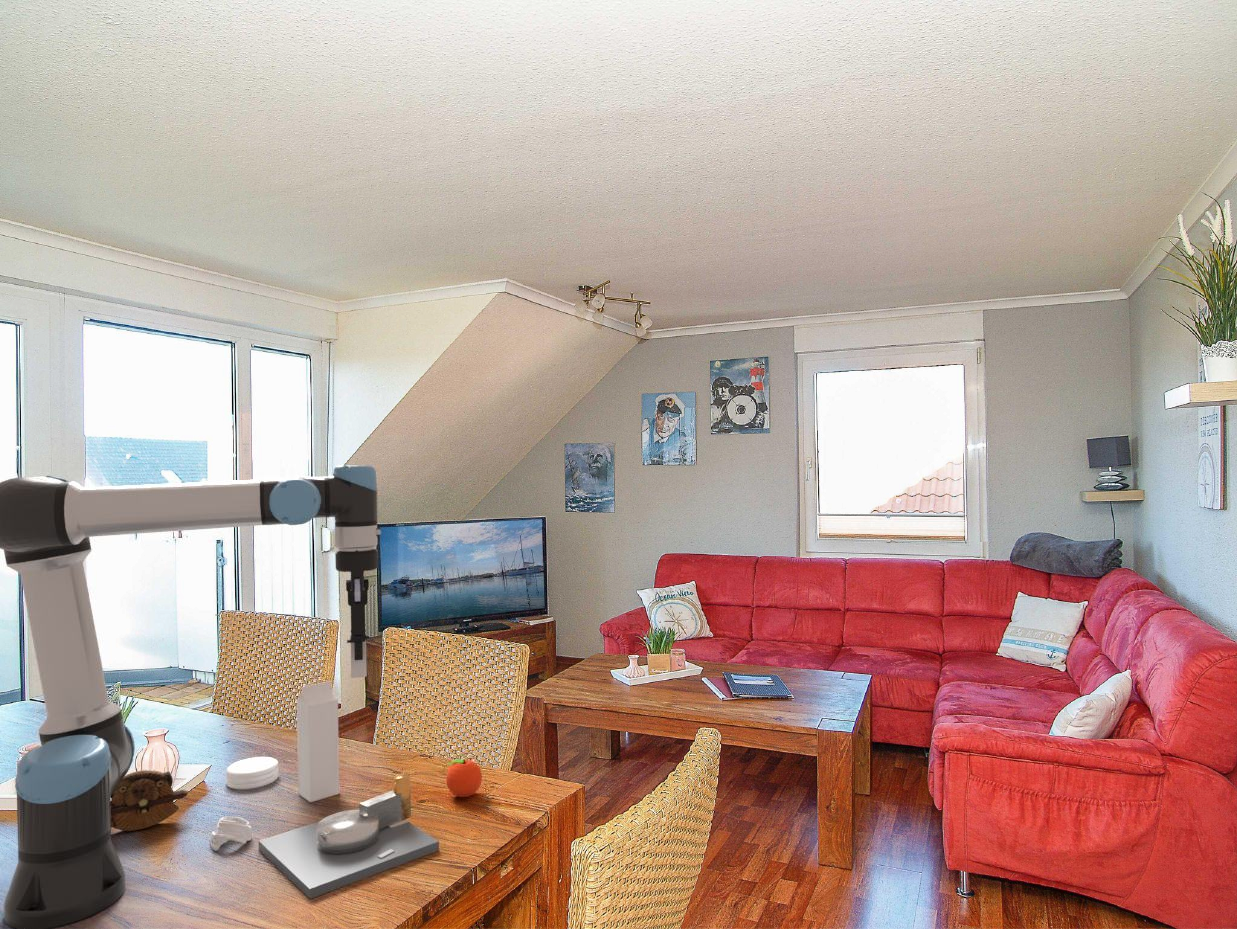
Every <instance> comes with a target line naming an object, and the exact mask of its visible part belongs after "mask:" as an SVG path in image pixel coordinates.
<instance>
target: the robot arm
mask: <svg viewBox="0 0 1237 929" xmlns="http://www.w3.org/2000/svg"><path fill="white" fill-rule="evenodd" d="M377 483H378V482H377V472H376V469H375V468H374V466H372V465H368V464H367V465H360V464H359V465H356V464H355V465H336V466H335V467H334V469H333V473H332V475H328V476H279V477H269V478H265V479H250V480H249V479H248V480H247V479H246V480H222V481H221V480H220V481H202V482H199V481H198V482H183V483H182V482H178V483H160V484H140V485H139V484H136V485H135V484H134V485H116V486H115V485H114V486H97V487H96V486H95V487H83V486H81V484H79V483H78V482H76V481H69V480H67V479H64V478H61V477H58V476H52V475H45V476H44V475H43V476H42V475H41V476H40V475H39V476H38V475H37V476H29V477H26V476H25V477H13V478H9V479H6V480H3V481H0V549H1V550H3V552H4V559H5V563H6V567H8V568H10V569H12V570H13V571H15V572H16V573H18V574H19V575H20V580H21V584H22V589H23V595H24V598H25V599H24V601H25V605H26V612H27V616H28V622H29V627H30V631H31V637H32V643H33V647H34V653H35V657H36V658H35V659H36V663H37V668H38V669H37V670H38V673H39V680H40V684H41V689H42V695H43V699H44V705H45V710H46V719H45V720H44V722H43V723H42V724H41V726H39V728H38V729H37V730H38V736H39V741H40V745H37V746H34V747H33V748H31V749H30V750H29V751H27V752H26V753H25V754H24V755H23V756H22V757H21V759H20V760H19V761H18V765H17V768H16V770H17V771H16V777H15V781H14V782H15V791H16V814H17V815H16V816H17V818H16V819H17V821H16V822H17V823H16V824H17V857H18V858H17V859H18V860H17V865H16V868H15V871H14V873H13V876H12V879H11V883H10V886H9V887H8V891H7V893H6V894H7V895H6V897H5V899H4V904H3V909H4V910H3V911H4V912H3V913H4V914H3V916H4V917H3V918H4V923H5V924H6V925H7V926H9V927H10V928H14V929H51V928H56V927H60V926H64V925H68V924H71V923H75V922H78V921H81V920H83V919H86V918H88V917H92V916H93V915H96V914H98V913H99V912H102V911H103V910H105V909H106V908H108V907H110V906H111V905H113V904H114V903H115V902H117V901H118V900H119V899H120V897H122V895H123V894H124V892H125V891H126V874H125V870H124V867H123V864H122V862H121V860H120V858H119V855H118V854H117V853H118V852H117V851H116V849H115V845H114V844H113V841H112V831H111V830H112V828H111V806H110V801H111V795H112V794H113V792H114V791H115V789H116V788H117V786H118V785H119V783H120V782H121V780H122V779H123V778H124V776H126V775H128V772H129V770H130V768H131V766H132V764H133V761H134V755H135V738H134V737H133V736H134V735H133V734H132V732H131V730H130V728H129V727H128V726H127V725H126V724H125V723H124V717H123V714H122V713H123V712H122V709H121V708H122V707H121V706H120V705H118V704H116V703H114V702H112V701H110V700H109V697H108V695H109V694H108V690H107V686H106V684H107V683H106V679H105V675H104V669H103V665H102V657H101V653H100V647H99V641H98V637H97V631H96V627H95V626H96V625H95V621H94V616H93V610H92V604H91V599H90V594H89V589H88V583H87V577H86V573H85V567H84V561H85V559H87V557H88V555H89V554H90V553H91V552H92V550H93V549H92V545H91V540H90V537H91V538H94V537H107V536H120V535H134V534H135V535H137V534H150V533H151V534H152V533H165V532H166V533H167V532H180V531H183V532H184V531H195V530H208V529H225V528H240V527H241V528H242V527H252V526H253V527H255V526H271V525H272V526H273V525H274V526H275V525H276V526H277V525H289V526H297V525H299V526H300V525H305V524H306V523H309V522H310V521H311V520H312V519H317V518H318V519H319V518H321V519H323V518H325V519H326V518H334V548H336V549H338V550H336V552H334V553H335V554H334V555H335V558H334V559H335V560H334V562H335V570H336V571H337V572H339V573H342V572H343V573H350V579H346V581H345V590H346V592H347V605H348V606H350V625H351V626H350V638H347V639H346V644H350V678H351V679H353V678H364V677H365V678H366V677H367V675H368V674H367V672H368V668H367V639H370V634H366V630H367V629H366V605H367V604H368V591H369V588H370V587H369V578H364V577H365V576H364V572H367V571H375V570H376V569H378V568H379V550H378V549H377V548H375V547H377V545H378V536H380V535H381V534H382V531H381V529H378V487H377V485H378V484H377Z"/></svg>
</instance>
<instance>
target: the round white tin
mask: <svg viewBox="0 0 1237 929" xmlns="http://www.w3.org/2000/svg"><path fill="white" fill-rule="evenodd" d="M279 769H280V768H279V761H278V760H277V759H276V758H274V757H271V756H254V757H250V758H249V757H248V758H245V759H241V760H238V761H235V762H233V763H231V764H230V765H229V766H228V767H227V768H226V770H225V774H226V776H225V778H226V785H227V787H229V789H233V790H252V789H256V788H261V787H265V786H267V785H270V784H271V783H274V782H275V781H276V780H277V779H278V778H279V776H280V773H279Z"/></svg>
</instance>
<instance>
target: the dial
mask: <svg viewBox="0 0 1237 929" xmlns="http://www.w3.org/2000/svg"><path fill="white" fill-rule="evenodd" d="M411 798H412V797H411V775H410V774H408V773H399V774H398V773H397V774H395V775H394V776H393V777H392V790H390V791H387V792H385V793H382V794H380V795H377V796H375V797H372V798H370V799H367V800H364V801H362V802H359V803H358V809H359V810H358V809H349V810H343V811H338V812H336V813H333V814H330V815H327V816H326V817H324V818H322V819H321V820H320V821H318V822H319V823H318V824H317V847H318V849H319V850H321V851H322V852H325V853H330V854H345V853H351V852H356V851H359V850H362V849H365V848H367V847H369V846H371V845H372V844H374V843H375V842H376V841H377V840H378V838H379V830H380V829H382V828H385V827H387V826H389V825H392V824H394V823H397V822H399V821H401V820H407V819H409V818H411V817H412V812H411V811H412V808H411V806H412V804H411V800H412V799H411Z"/></svg>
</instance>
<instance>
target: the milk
mask: <svg viewBox="0 0 1237 929" xmlns="http://www.w3.org/2000/svg"><path fill="white" fill-rule="evenodd" d="M332 685H333V684H332V681H330V680H328V681H323V682H319V683H314V684H309V685H308V684H307V685H303V686H302V687H301V694H300V696H299V697H298V698H297V699H296V733H297V734H296V735H297V736H296V737H297V746H296V747H297V789H298V795H299V796H301V797H302V798H303V799H305V801H306V800H307V801H308V803H313V802H317V801H320V800H323V799H327V798H329V797H333V796H336V795H340V761H339V760H340V756H339V755H340V753H339V750H340V749H339V747H340V745H339V742H340V741H339V702H338V701H339V699H338V698H337V696H336V694H335V692H334V690H333V688H332V687H333V686H332Z"/></svg>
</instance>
